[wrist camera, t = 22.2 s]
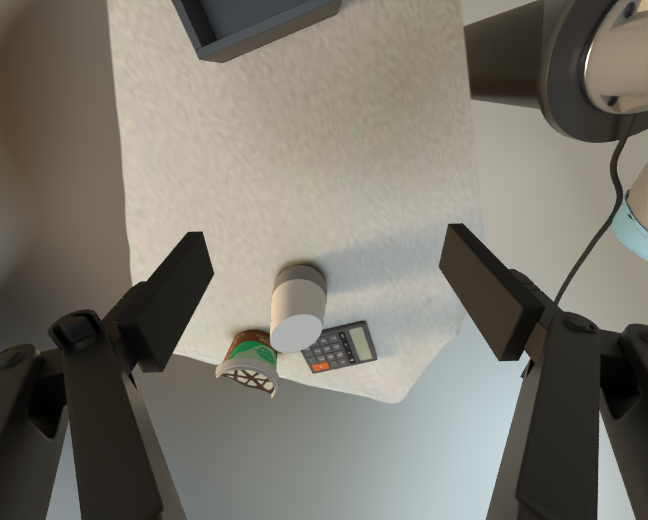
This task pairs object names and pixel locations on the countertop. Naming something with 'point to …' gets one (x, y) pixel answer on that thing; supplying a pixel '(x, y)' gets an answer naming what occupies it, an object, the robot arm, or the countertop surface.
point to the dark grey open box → (246, 23)
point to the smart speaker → (297, 309)
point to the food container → (251, 361)
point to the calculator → (340, 348)
